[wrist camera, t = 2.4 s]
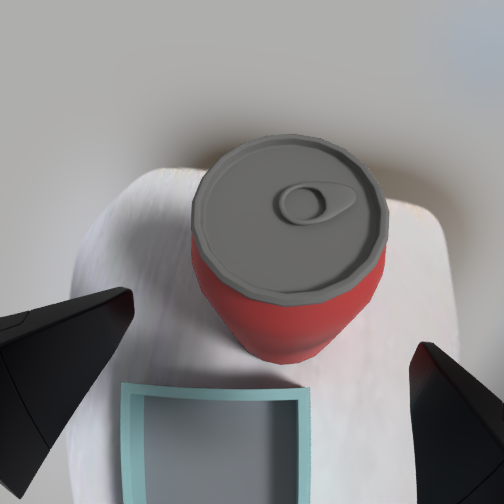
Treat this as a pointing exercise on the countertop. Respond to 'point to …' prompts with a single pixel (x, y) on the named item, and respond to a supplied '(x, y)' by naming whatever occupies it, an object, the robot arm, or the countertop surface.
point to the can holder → (215, 445)
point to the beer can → (288, 243)
